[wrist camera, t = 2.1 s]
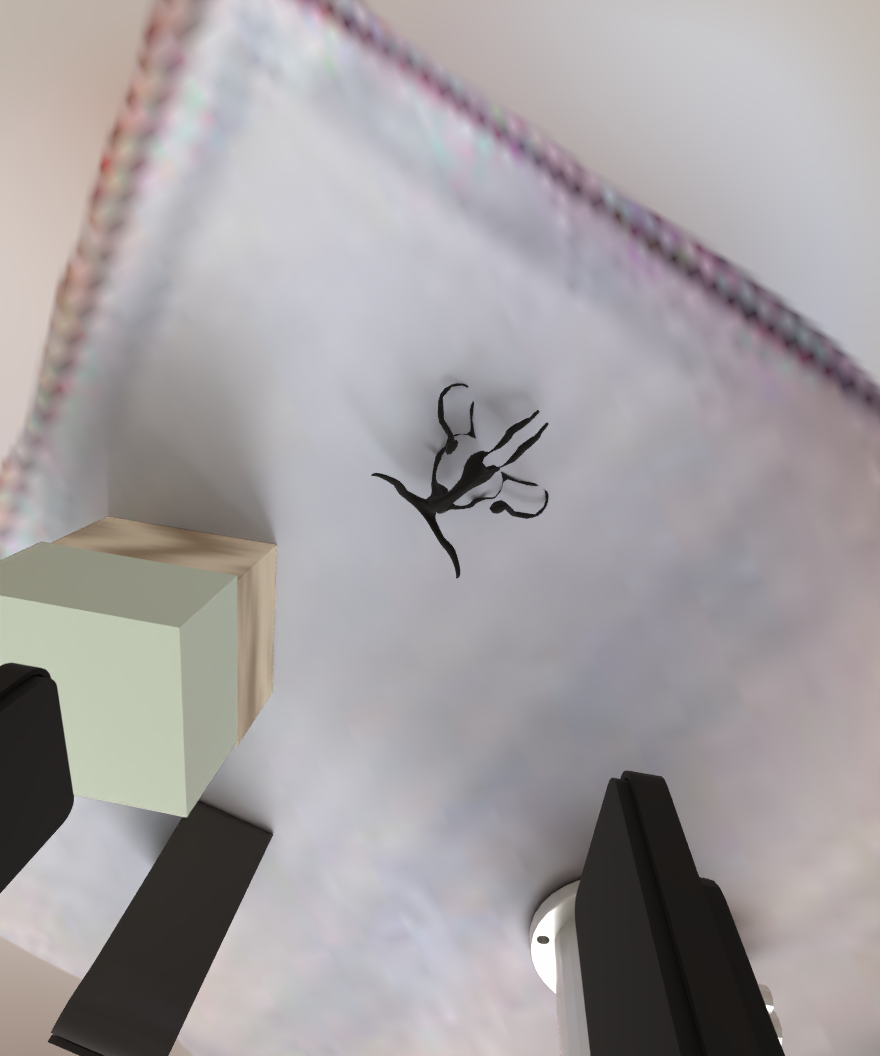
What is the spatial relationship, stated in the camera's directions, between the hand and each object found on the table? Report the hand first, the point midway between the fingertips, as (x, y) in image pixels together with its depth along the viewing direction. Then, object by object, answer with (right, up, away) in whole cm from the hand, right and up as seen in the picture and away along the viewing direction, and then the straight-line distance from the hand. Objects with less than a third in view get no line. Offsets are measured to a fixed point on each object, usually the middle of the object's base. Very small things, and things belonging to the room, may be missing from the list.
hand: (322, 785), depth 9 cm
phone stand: (-14, -19, +31) cm, 39 cm away
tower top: (-13, -2, +19) cm, 24 cm away
